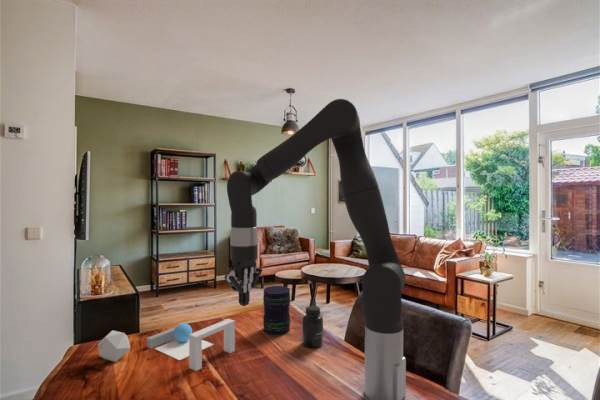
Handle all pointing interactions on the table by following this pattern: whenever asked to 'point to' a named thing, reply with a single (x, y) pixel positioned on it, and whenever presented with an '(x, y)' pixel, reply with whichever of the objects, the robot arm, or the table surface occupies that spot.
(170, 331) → the wall
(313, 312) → the supplement bottle
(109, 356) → the die
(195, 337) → the bridge
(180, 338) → the ball
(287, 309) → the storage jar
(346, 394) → the table surface
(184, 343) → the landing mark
